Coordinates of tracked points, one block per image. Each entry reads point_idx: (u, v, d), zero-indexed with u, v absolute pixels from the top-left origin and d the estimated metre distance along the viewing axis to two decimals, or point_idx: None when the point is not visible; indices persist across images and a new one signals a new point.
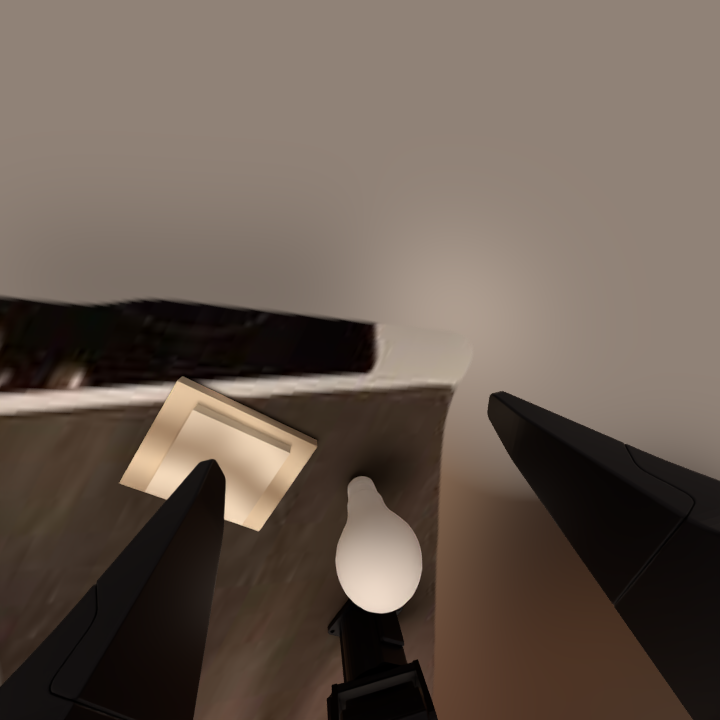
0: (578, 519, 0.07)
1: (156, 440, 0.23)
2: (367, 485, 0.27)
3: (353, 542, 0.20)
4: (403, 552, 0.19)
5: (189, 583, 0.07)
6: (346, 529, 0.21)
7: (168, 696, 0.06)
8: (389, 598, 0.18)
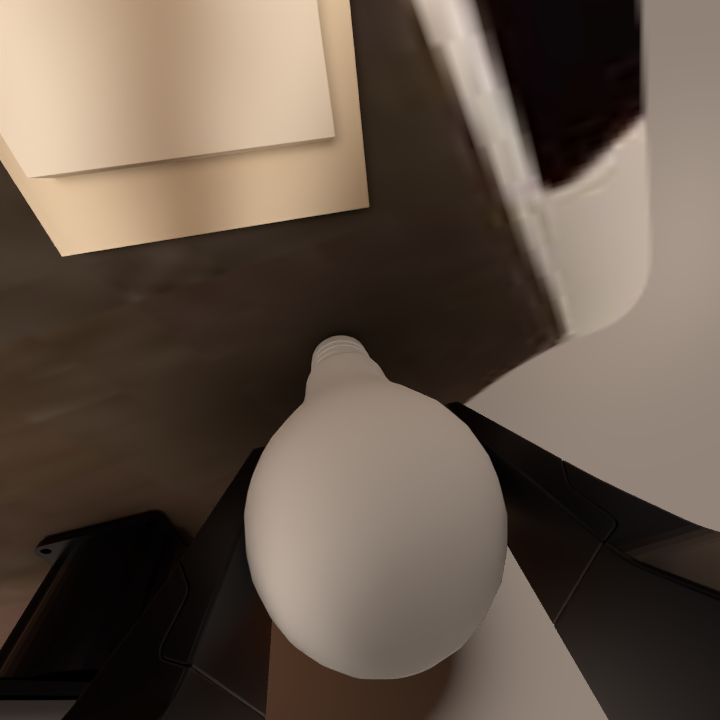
0: (520, 536, 0.07)
1: None
2: None
3: (408, 428, 0.06)
4: None
5: None
6: (366, 388, 0.07)
7: (247, 671, 0.06)
8: (428, 658, 0.05)
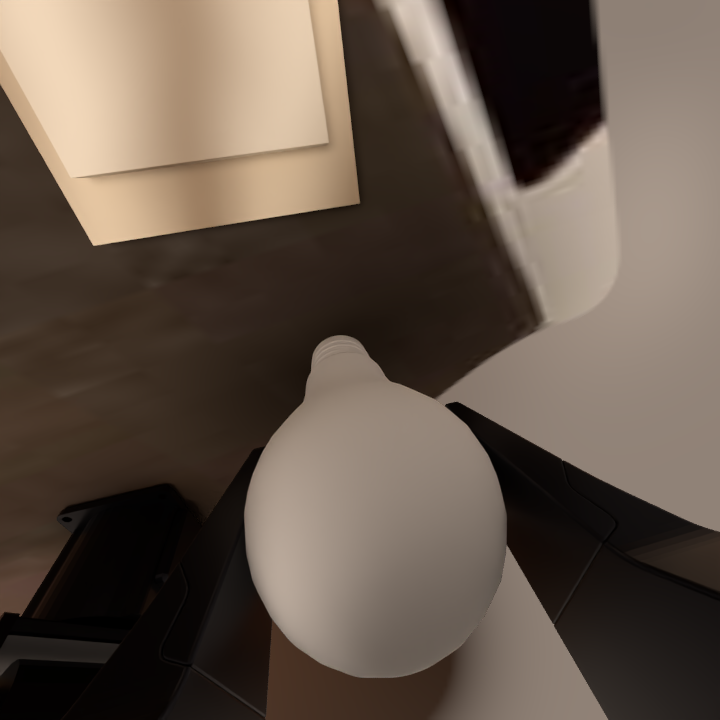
0: (520, 536, 0.07)
1: None
2: None
3: (407, 428, 0.06)
4: None
5: None
6: (366, 388, 0.07)
7: (247, 671, 0.06)
8: (427, 657, 0.05)
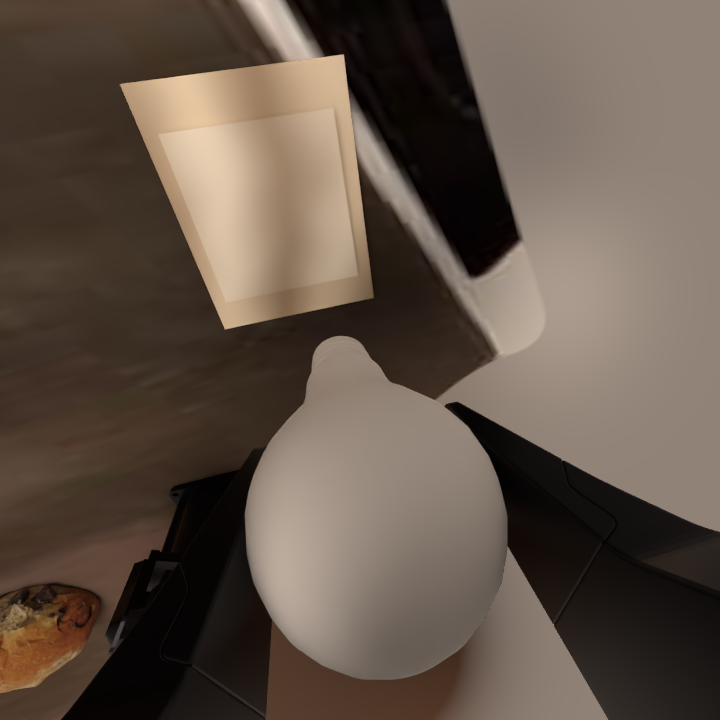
0: (520, 536, 0.07)
1: (236, 92, 0.14)
2: None
3: (408, 429, 0.06)
4: None
5: None
6: (366, 389, 0.07)
7: (247, 671, 0.06)
8: (428, 659, 0.05)
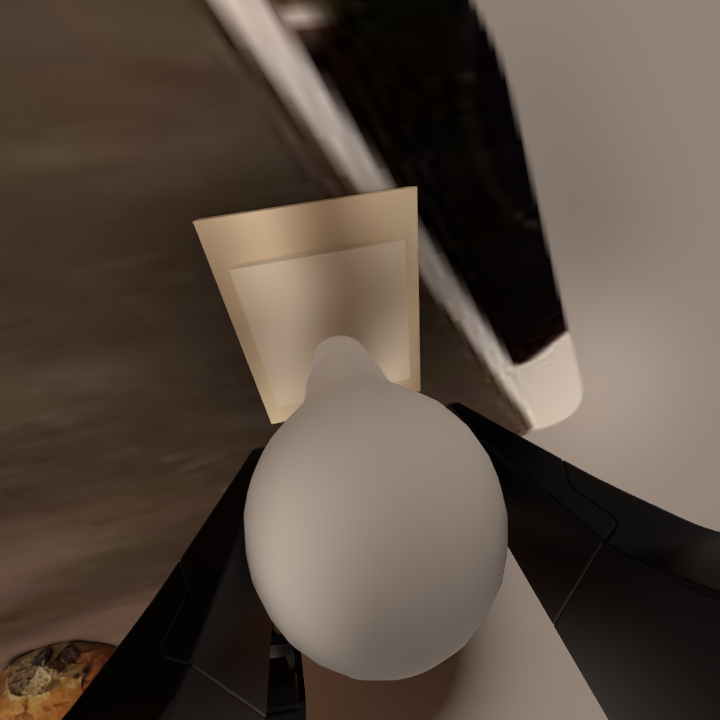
0: (520, 536, 0.07)
1: (307, 223, 0.14)
2: None
3: (408, 429, 0.06)
4: None
5: None
6: (366, 389, 0.07)
7: (248, 670, 0.06)
8: (428, 660, 0.05)
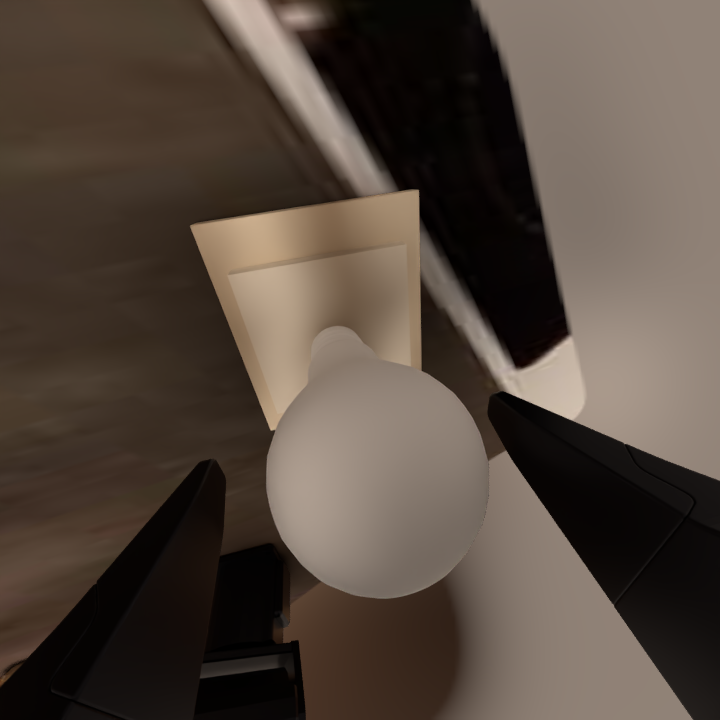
0: (578, 519, 0.07)
1: (307, 227, 0.13)
2: None
3: (405, 391, 0.07)
4: None
5: (189, 583, 0.07)
6: (367, 364, 0.08)
7: (168, 695, 0.06)
8: (427, 572, 0.06)
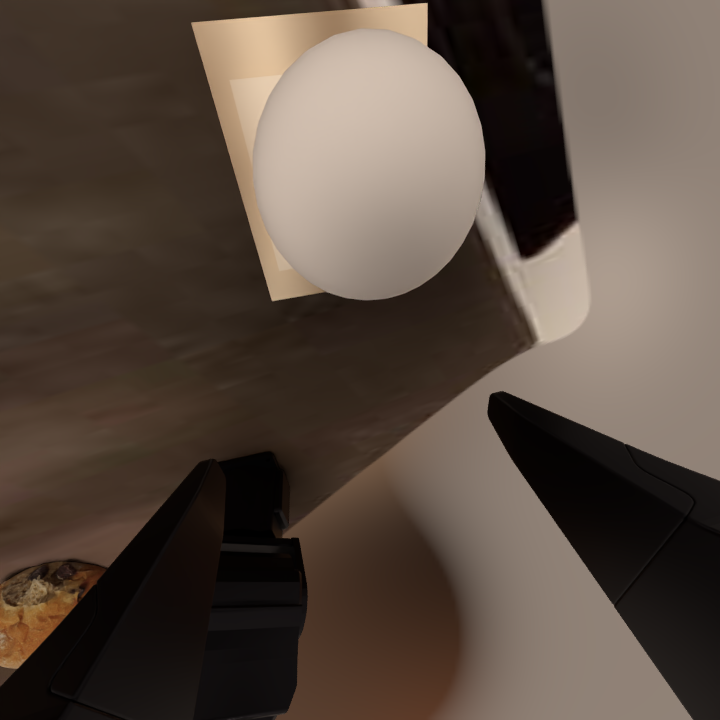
0: (578, 519, 0.07)
1: (311, 38, 0.13)
2: None
3: None
4: (483, 166, 0.07)
5: (189, 583, 0.07)
6: None
7: (168, 695, 0.06)
8: (410, 183, 0.06)
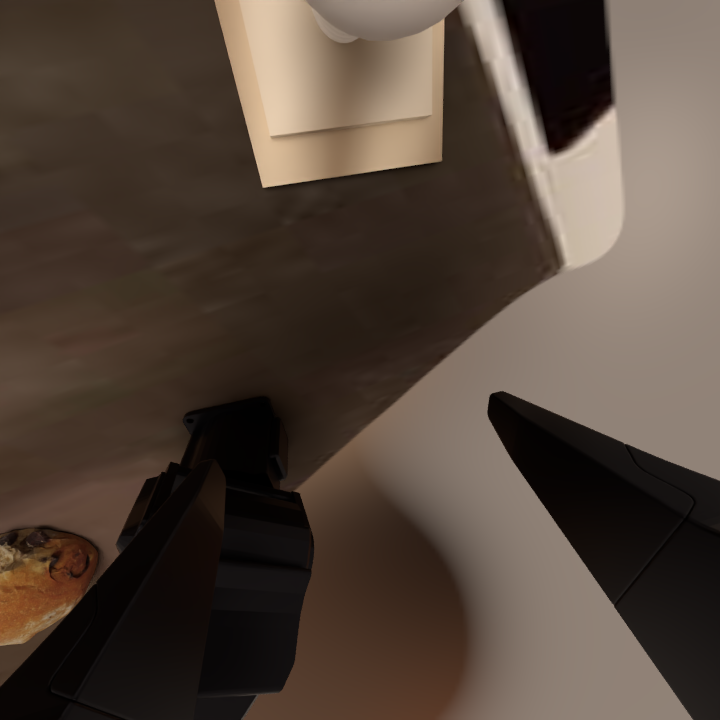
0: (578, 519, 0.07)
1: None
2: None
3: None
4: None
5: (189, 583, 0.07)
6: None
7: (168, 696, 0.06)
8: None
